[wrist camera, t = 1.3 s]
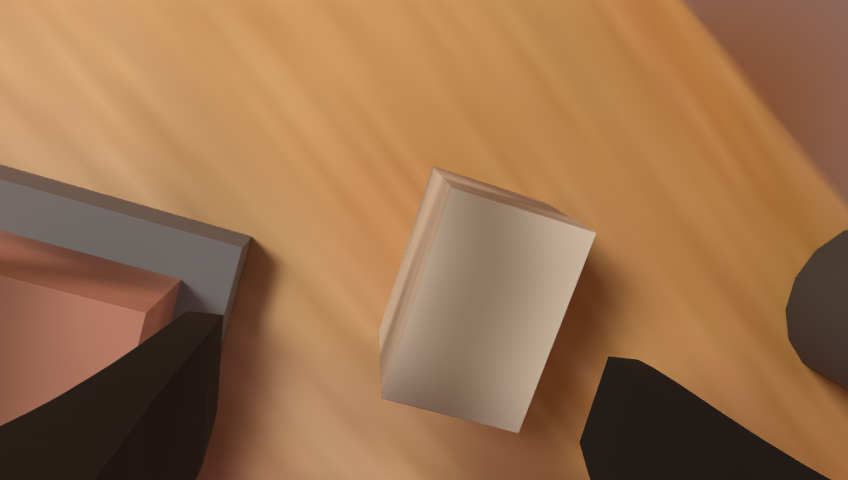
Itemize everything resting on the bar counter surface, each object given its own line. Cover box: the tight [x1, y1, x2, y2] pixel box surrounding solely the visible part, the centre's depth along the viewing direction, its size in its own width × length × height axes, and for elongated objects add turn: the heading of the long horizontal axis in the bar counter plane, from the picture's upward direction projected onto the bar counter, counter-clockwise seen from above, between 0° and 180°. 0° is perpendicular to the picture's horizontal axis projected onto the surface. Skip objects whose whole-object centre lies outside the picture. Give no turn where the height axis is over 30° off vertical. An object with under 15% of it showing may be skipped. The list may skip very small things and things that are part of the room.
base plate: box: [0, 165, 252, 348], centre depth 19 cm, size 10×10×2 cm
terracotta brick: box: [0, 230, 181, 426], centre depth 17 cm, size 7×7×3 cm
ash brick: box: [379, 167, 596, 433], centre depth 18 cm, size 4×6×5 cm, turn 162°
